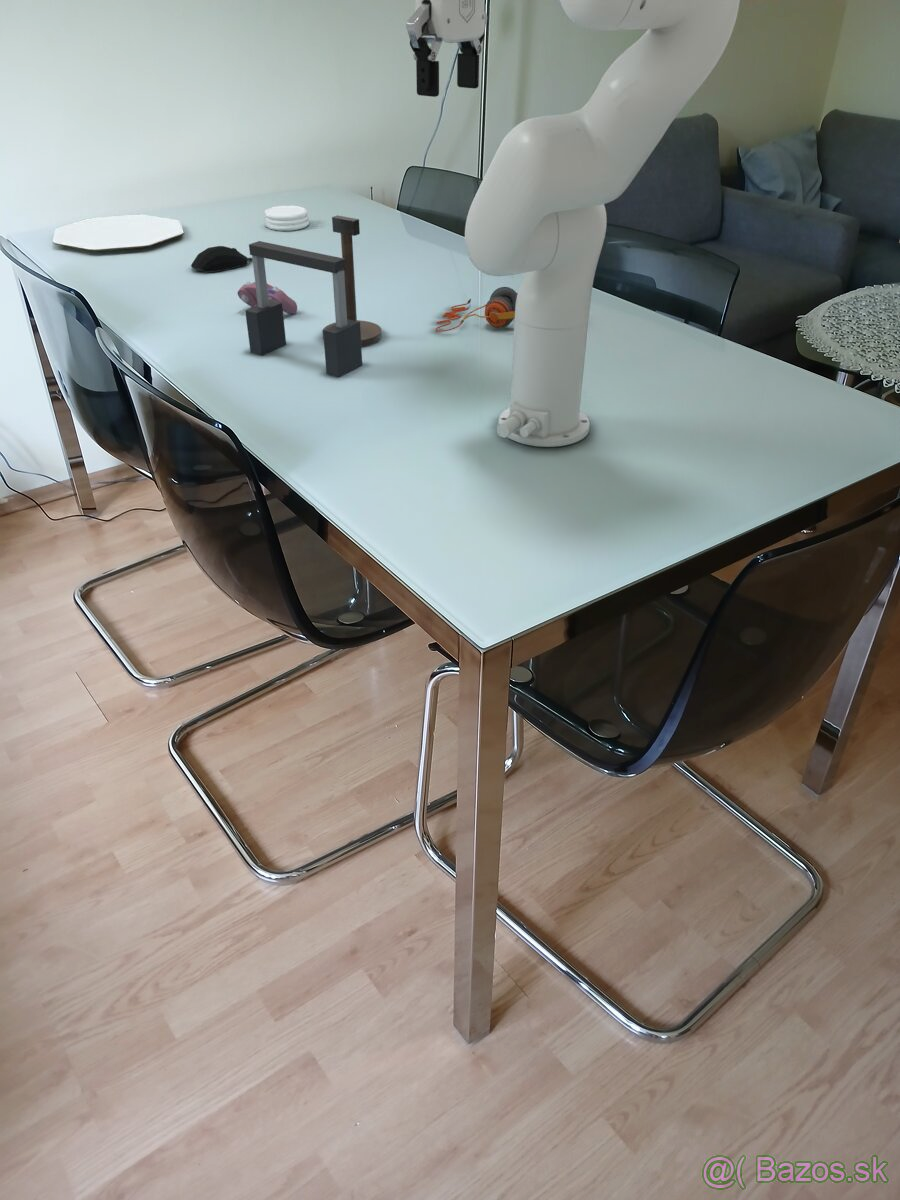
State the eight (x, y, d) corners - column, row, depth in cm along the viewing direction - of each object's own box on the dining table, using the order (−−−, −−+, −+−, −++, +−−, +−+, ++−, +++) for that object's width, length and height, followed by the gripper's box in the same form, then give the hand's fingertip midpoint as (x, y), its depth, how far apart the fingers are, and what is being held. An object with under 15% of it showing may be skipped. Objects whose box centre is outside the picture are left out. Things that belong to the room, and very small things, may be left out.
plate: (57, 226, 212) (55, 219, 211) (178, 218, 218) (177, 211, 218) (52, 259, 191) (51, 252, 190) (187, 249, 197) (186, 241, 196)
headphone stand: (357, 352, 149) (350, 229, 138) (310, 339, 154) (300, 220, 142) (393, 334, 156) (389, 216, 145) (347, 323, 160) (340, 207, 149)
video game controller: (245, 318, 167) (229, 288, 161) (257, 300, 168) (242, 270, 162) (289, 327, 163) (274, 297, 157) (301, 309, 165) (287, 278, 159)
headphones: (433, 348, 158) (547, 330, 152) (426, 318, 155) (541, 299, 149) (452, 316, 171) (557, 299, 165) (446, 288, 168) (553, 270, 162)
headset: (338, 377, 141) (331, 266, 131) (250, 352, 149) (236, 246, 139) (362, 365, 145) (356, 256, 135) (275, 341, 153) (263, 237, 143)
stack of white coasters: (294, 218, 219) (293, 202, 217) (317, 226, 213) (315, 210, 211) (257, 225, 214) (256, 209, 212) (280, 233, 208) (278, 217, 206)
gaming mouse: (266, 263, 189) (264, 243, 187) (200, 275, 182) (196, 255, 180) (252, 256, 193) (250, 236, 191) (187, 268, 186) (183, 247, 184)
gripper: (434, -66, 105) (435, 101, 115) (510, -66, 117) (504, 86, 127) (382, -66, 108) (387, 96, 119) (461, -66, 120) (459, 82, 130)
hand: (448, 91), depth 123 cm, fingers open, 9 cm apart
